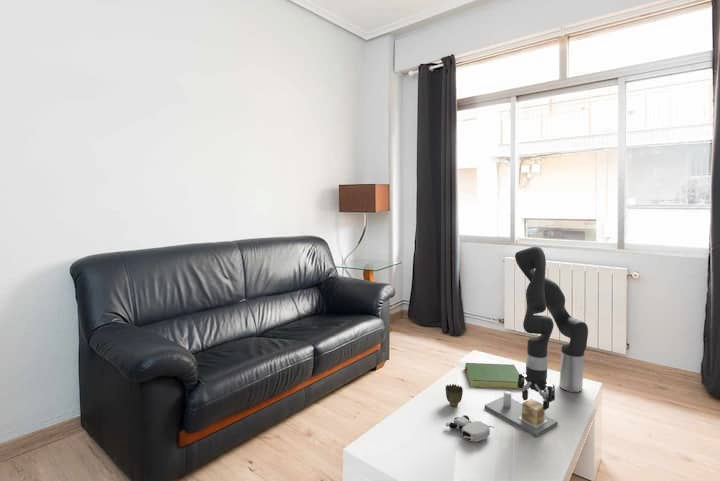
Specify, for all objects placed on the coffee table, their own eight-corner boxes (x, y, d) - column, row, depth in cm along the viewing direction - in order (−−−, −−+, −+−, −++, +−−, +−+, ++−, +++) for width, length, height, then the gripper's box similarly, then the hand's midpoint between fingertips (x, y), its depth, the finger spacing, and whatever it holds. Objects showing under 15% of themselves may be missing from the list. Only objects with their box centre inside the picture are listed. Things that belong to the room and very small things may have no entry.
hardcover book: (513, 371, 202) (514, 364, 201) (524, 389, 183) (524, 382, 183) (463, 369, 205) (464, 362, 204) (469, 387, 186) (469, 379, 186)
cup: (463, 410, 165) (463, 393, 164) (445, 409, 167) (445, 391, 166) (462, 401, 173) (462, 384, 172) (445, 400, 174) (445, 383, 173)
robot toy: (443, 431, 153) (473, 449, 141) (443, 420, 153) (473, 437, 140) (465, 421, 160) (496, 437, 147) (464, 410, 160) (495, 425, 147)
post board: (505, 398, 175) (506, 382, 174) (557, 425, 155) (558, 407, 154) (484, 408, 167) (485, 391, 166) (536, 437, 147) (537, 418, 146)
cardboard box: (521, 418, 156) (522, 403, 156) (530, 413, 160) (531, 398, 159) (535, 425, 152) (536, 410, 151) (544, 420, 155) (545, 405, 154)
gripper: (514, 361, 156) (513, 399, 158) (548, 374, 145) (546, 415, 147) (525, 356, 161) (524, 394, 163) (559, 369, 149) (558, 409, 151)
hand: (535, 404), depth 155 cm, fingers open, 8 cm apart
